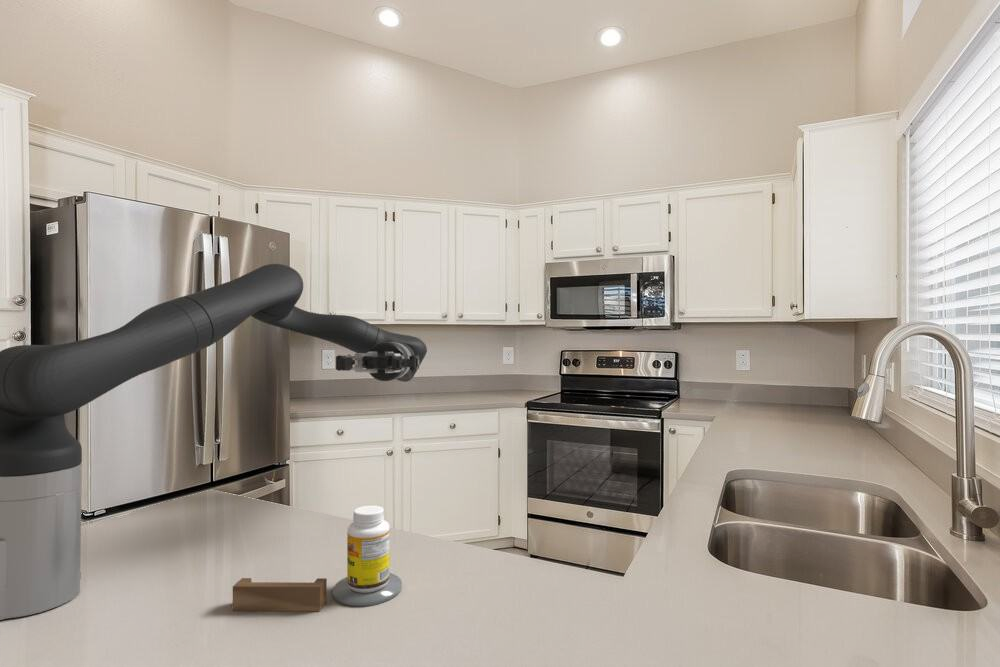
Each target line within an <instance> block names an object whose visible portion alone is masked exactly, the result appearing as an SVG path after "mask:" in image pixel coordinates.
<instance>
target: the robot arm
mask: <svg viewBox="0 0 1000 667" xmlns="http://www.w3.org/2000/svg"><path fill="white" fill-rule="evenodd" d="M303 291H304V281H303V278H302V276H301V274H300V273H299V272H298V271H297V270H296V269H294V268H293V267H291V266H289V265H285V264H280V263H270V264H264V265H262V266H260V267H258V268H255V269H253V270H251V271H249V272H248V273H246V274H245V273H244V274H242V275H241V276H239V277H237V278H234V279H232V280H230V281H227V282H224V283H220V284H217V285H215V286H211V287H209V288H206V289H203V290H200V291H197V292H193V293H191V294H187V295H184V296H180V297H176V298H174V299H170V300H168V301H163V302H162V303H159V304H156V305H153V306H151V307H149V308H147V309H146V310H144V311H142V312H141V313H139V314H138V315H136V316H135V317H134V318H133V319H131V320H130V321H128V322H126V323H125V324H124V325H122V326H121V327H118V328H116V329H114V330H111V331H109V332H105V333H102V334H99V335H96V336H92V337H87V338H85V339H79V340H76V341H71V342H66V343H58V344H25V345H24V344H23V345H22V344H21V345H14V346H9V347H7V348H5V349H2V350H0V621H2V620H6V619H12V618H14V619H15V618H20V617H26V616H31V615H35V614H38V613H39V614H40V613H42V612H45V611H49V610H51V609H54V608H57V607H59V606H61V605H64V604H65V603H67V602H69V601H71V600H73V599H74V598H75V597H77V596H78V595H79V593H80V591H81V579H82V578H81V577H82V576H81V575H82V574H81V573H82V572H81V555H82V554H81V553H82V552H81V550H82V549H81V546H82V544H81V543H82V540H81V538H82V484H83V483H82V481H83V480H82V479H83V478H82V475H83V472H82V471H83V464H82V462H83V450H82V449H83V448H82V444H81V442H80V441H78V439H76V438H75V437H74V435H72V433H71V432H70V431H69V429H68V427H67V425H66V424H67V423H66V421H65V419H66V418H65V415H66V414H69V413H71V412H74V411H76V410H79V409H80V408H81V407H83V406H84V407H85V405H88V404H89V403H91V402H93V401H95V400H96V399H98V398H100V397H102V396H103V395H105V394H106V393H108V392H111V390H114V389H115V388H117V387H119V386H121V385H122V384H124V383H127V382H129V380H132V379H133V378H135V377H138V376H140V375H142V374H145V373H147V372H151V371H154V370H155V369H159V368H161V367H164V366H165V365H168V364H171V363H173V362H176V361H177V360H178V361H179V360H180V359H183V358H186V357H188V356H190V355H193V354H195V353H197V352H200V351H201V350H204V349H207V348H208V347H210V346H212V345H214V344H216V343H217V342H219V341H220V340H222V339H223V338H225V337H226V336H228V334H230V333H232V332H233V331H234V330H235V329H236V328H238V327H239V326H240V325H241V324H242V323H244V322H245V321H246V320H247V319H248V318H250V317H253V319H255V320H258V321H259V322H262V323H264V324H267V325H269V326H270V325H271V326H273V327H278V328H281V329H284V330H287V331H291V332H294V333H299V334H302V335H305V336H309V337H314V338H317V339H321V340H322V341H327V342H330V343H333V344H335V345H338V346H341V347H342V348H345V349H347V350H350V351H352V352H354V353H355V354H354V355H353V354H352V355H351V354H347V355H339V354H338V355H336V356H335V370H336V371H338V372H339V371H345V372H346V371H347V372H350V371H354V372H355V373H368V374H369V375H370V376H371V377H372V378H373V379H375V380H377V381H380V382H390V381H394V380H396V381H398V382H399V381H400V382H410V381H411V380H412V379H413V378H414V376H415V375H416V373H417V371H418V370H419V369H420V366H421V364H422V362H423V360H424V358H425V357H426V355H427V352H428V348H427V345H426V343H425V342H424V341H423V340H422V339H420V338H418V337H417V336H412V335H407V334H401V333H396V332H391V331H388V330H384V329H383V328H380V327H378V326H376V325H374V324H372V323H370V322H368V321H365V320H363V319H361V318H359V317H356V316H352V315H344V314H324V313H317V312H311V311H307V310H304V309H301V308H300V307H297V306H296V304H297V303H298V301H299V300H300V298H301V297H302V294H303Z"/></svg>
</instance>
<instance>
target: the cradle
mask: <svg viewBox="0 0 1000 667" xmlns="http://www.w3.org/2000/svg"><path fill="white" fill-rule="evenodd" d="M327 581H328V580H327V578H325V577H324V578H323V577H322V578H319V577H318V578H316V580H315V581H313V582H287V581H286V582H282V581H281V582H276V581H275V582H274V581H273V582H271V581H270V582H268V581H264V582H263V581H262V582H261V581H260V582H259V581H257V582H255V581H253V582H252V578H251V577H242V578H241V579H240V580H238V581H237V582H236V583H235V584H233V586H232V611H236V612H237V611H239V612H242V611H243V612H321V611H322V609H323V607H324V606H325V605H326V603H327V584H328V583H327Z"/></svg>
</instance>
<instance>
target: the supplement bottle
mask: <svg viewBox="0 0 1000 667" xmlns="http://www.w3.org/2000/svg"><path fill="white" fill-rule="evenodd" d="M352 517H353V519H352V521H353V522H352V523H351V524H350V525H348V527H347V532H346V533H347V538H346V539H347V543H346V544H347V548H346V550H347V562H346V563H347V564H346V565H347V566H346V567H347V570H346V571H347V573H346V574H347V576H346V577H347V583H348V586H349V588H350V589H351V590H353V591H355V592H359V593H369V592H374V591H377V590H380V589H382V588H383V587H385V586H386V585H387V583H388V581H389V573H390V531H391V530H390V524H389V522H388V521H386V520H385V519H384V517H385V516H384V507H382V506H379V505H363V506H359V507H357V508H355V509H354V510H353V516H352Z"/></svg>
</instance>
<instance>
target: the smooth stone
mask: <svg viewBox="0 0 1000 667" xmlns="http://www.w3.org/2000/svg"><path fill="white" fill-rule="evenodd" d="M402 582H403V581H402V579H401V578H400V577H399V576H398V575H396V574H395V573H391V572H389V581H388V583H387V585H386V586H385V587H383V588H382V589H380V590H377V591H374V592H369V593H359V592H355V591H353V590H351V589H350V588H349V586H348V583H347V576H346V577H344V578H342V579H340V580H339V581H338V582H336V583H335V584H334V587H333V590H332V596H333V599H334V600H335V601H336V602H338V603H339V604H342V605H344V606H348V607H359V608H361V607H370V606H371V607H372V606H375V605H376V606H377V605H380V604H383V603H386V602H388V601H391V600H393V599H394V598H396V597H397V596H398V595H399V594H400V593H401V591H402V588H403V587H402Z"/></svg>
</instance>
